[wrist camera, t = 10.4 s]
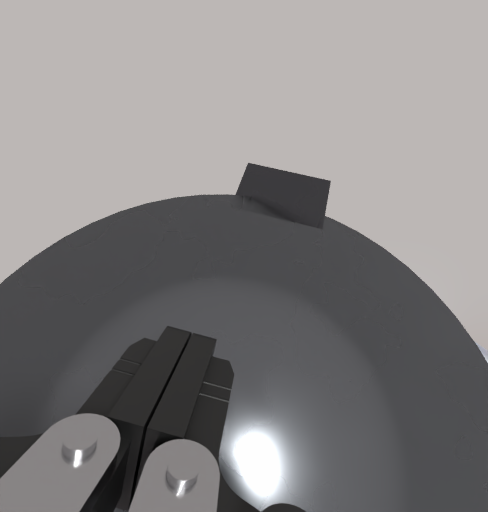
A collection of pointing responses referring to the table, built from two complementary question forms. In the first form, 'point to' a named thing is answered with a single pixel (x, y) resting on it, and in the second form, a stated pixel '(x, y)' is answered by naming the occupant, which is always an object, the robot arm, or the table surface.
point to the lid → (264, 346)
